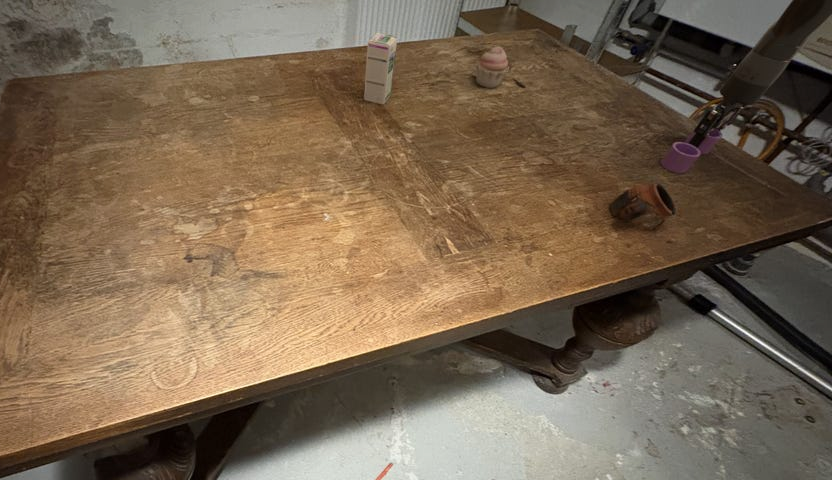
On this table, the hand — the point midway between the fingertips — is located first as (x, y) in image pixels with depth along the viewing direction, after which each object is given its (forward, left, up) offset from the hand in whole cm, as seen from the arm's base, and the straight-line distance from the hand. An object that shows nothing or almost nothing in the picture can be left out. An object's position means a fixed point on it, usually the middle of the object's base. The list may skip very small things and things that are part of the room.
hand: (698, 144), depth 101 cm
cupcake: (+26, -48, -1) cm, 55 cm away
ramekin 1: (+13, +2, -1) cm, 13 cm away
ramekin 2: (0, 0, -1) cm, 1 cm away
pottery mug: (+39, +9, -1) cm, 40 cm away
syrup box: (+60, -54, -1) cm, 81 cm away
